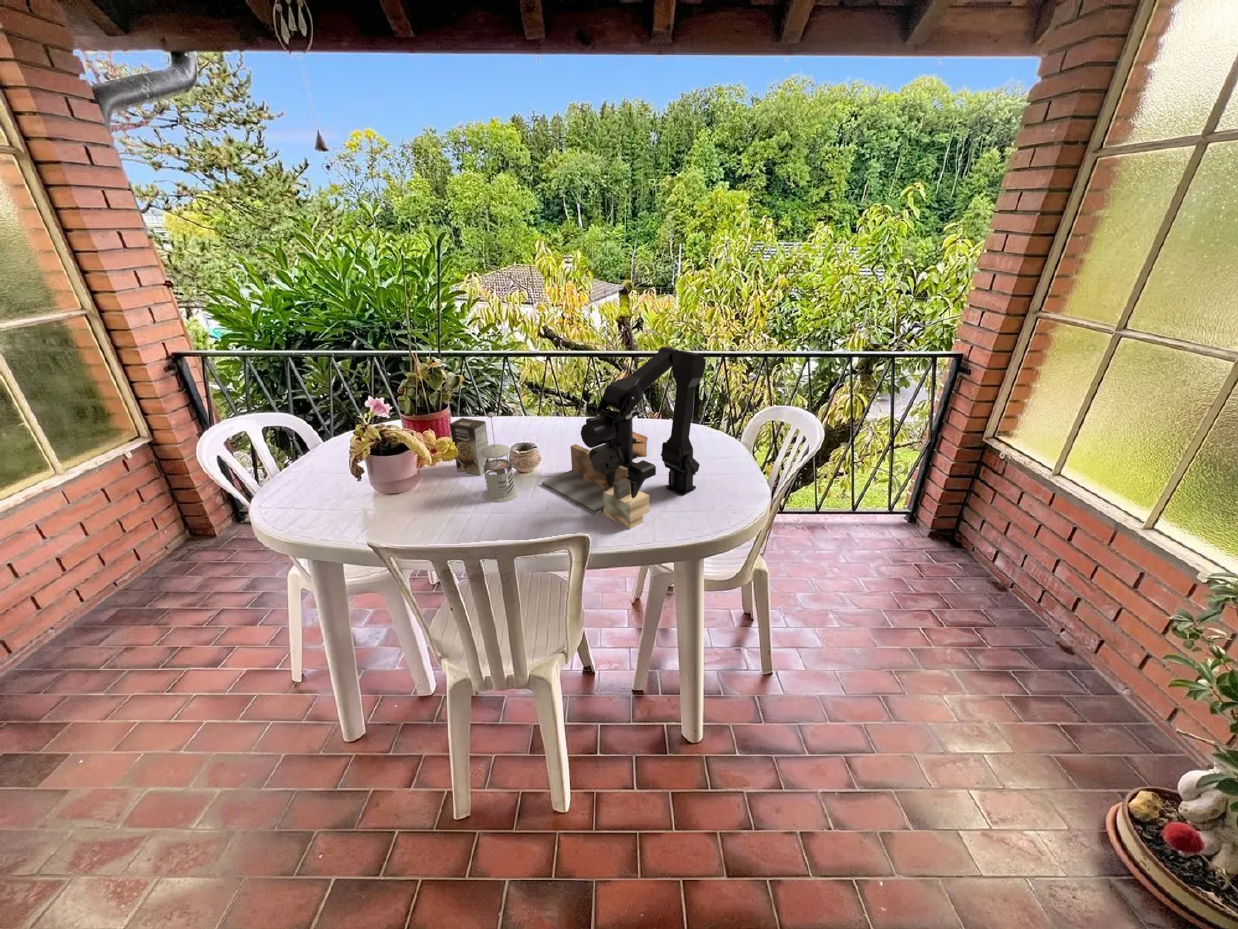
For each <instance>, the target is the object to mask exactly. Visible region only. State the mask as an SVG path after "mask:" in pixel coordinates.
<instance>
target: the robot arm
mask: <svg viewBox="0 0 1238 929" xmlns="http://www.w3.org/2000/svg"><path fill="white" fill-rule="evenodd" d="M706 366H707V364H706V358H705V357H704V355H702V354H701V353H696V352H692V351H686V350H681V349H680V350H679V349H678V348H675V347H669V346H662V347H660V348H659V349H658V351H657V352H656V353H655V354H654V355H653V356H652V357H650V358H649V359H648V360H647V361H646V362H645V363H644V364H642V365H640V367H639V368H638V369H636V370H635V371H634V372H633V373H631V375H629V376H627V377H622V378H618V379H616V380H615V381H613V382H611V383H610V384H608V385H607V386H606V387H605V388H604V393H603V395H602V396H601V399H600V401H599V403H598V406H597V407H596V410H595V414H596V415H597V416H593V417H588V418H586V419H585V423H584V424H583V425H582V427H581V429H580V437H581V440H582V442H583V444H584V445H585V446H586V447H587V448H589V449H590V453H589V460H591V463H592V465H593V468H594V470H595V471H598V472H600V473H602V474H604V476H605V478H606V481H607V483H608V486H609V487H612V486H613V483H614V478H615V471H616V469H617V468H618V467H619V466H623V467H626V468H628V475H629V477H626V478H627V479H628V480H629V481H630V486H631V497H632V498H635V497H636V495H637V493H638V491H641V488H642V486H643V484H644V482H645V481H646V480H647V479H650V478H652V477H654V476H656V475H657V466H656V465H655V464H654V463H651V462H648V461H646V460H644V459H642V460H640V461H638V462H636V461H634V460H635V459H636V458H637V457H636V454H635V453H633V444H634V443H636V439H635V438H633V432H634V431H633V426H634V425H633V418H634V417H637V416H639V415H640V412H639V411H638V410H636V409H635V408H636V406H637V405H638V404H639V403H640V401H641V400H642V397H643V393H644V392H645V390H647V389H648V388H649V387H650V386H651V385H653V383H655V382H656V381H657V380H658V379H659V378H661V377H662V376H663V375H665V373H666V372H667V371H669V370H670V369H672V370H671V372H672V373H671V374H672V376H673V378H674V381H675V384H676V387H675V388H676V391H675V395H674V396H675V398H674V405H673V415H672V424H671V433H670V436H669V438H668V440H667V441H665V442H663V443H662V444H661V453H660V457H661V460H662V462H663V464H664V467H665V468H666V469H669V471H668V485H666V486H665V489H667V490H668V491H671V492H672V493H675V494H678V495H680V496H685V495H687V494H688V493H690V492H692V491H695V489H697V486H696V485H694V476H695V475H696V473H698V472H699V468H700V463H699V462H698V460H696V459H695V458H694V447H693V445H692V442H691V440H690V434H691V433H690V432H691V423H692V417H693V416H692V415H693V407H694V401H695V394H696V387H697V386H698V384H700V382H701V380H702V379H703V377H704V373H705V369H706ZM610 408H611V409H610ZM612 409H615V410H617V411H615V410H612Z"/></svg>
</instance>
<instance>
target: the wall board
mask: <svg viewBox="0 0 1238 929" xmlns="http://www.w3.org/2000/svg"><path fill="white" fill-rule="evenodd" d="M590 451H591V449H588V448H585V447H584V446H580V445H578V444H573V445H570V456H571V469H570V470H568V471H565V472H563V473H560V474H558V475H555V476H552V477H550V478H548V479H545V480H543V481H541V485H542V486H543V487H545V488H547V489H549V490H550V491H553V492H555V493H556V494H558V495H560V496H561V497H563V498H564V499H565V498H566V499H567V500H569V501H570V502H572V503H574V504H575V505H578V506H580V507H582V508H583V509H585V510H587V511H589V512H591V513H592V512H593V513H592V514H594V515H596V514H598V513H600V512H602V511H604V498H603V492H604V491H606V490H608V489H611V488H613V486H612V487H609V486H608V483H607V481H606V478H605V476H604V474H602V473H600V472H598V471H595V470H594V468H593V465H592V463H591V460H589V453H590ZM626 477H629V475H628V468H626V467H623V466H619V467H618V468H617V469H616V471H615V478H614V483H615V482H617V481H619V480H621V479H624V478H626ZM626 479H627V478H626ZM630 487H631V486H630Z"/></svg>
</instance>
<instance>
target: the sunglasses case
mask: <svg viewBox="0 0 1238 929" xmlns="http://www.w3.org/2000/svg"><path fill="white" fill-rule="evenodd" d="M633 438H635V439H636V443H634V444H633V453H635V454H636V458H647V457H646V456H648V455H647V442H648V436H646V435H642V434H640V433H637V432H634V431H633Z"/></svg>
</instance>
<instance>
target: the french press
mask: <svg viewBox="0 0 1238 929" xmlns="http://www.w3.org/2000/svg"><path fill="white" fill-rule="evenodd" d="M494 417H495V413H494V412H492V411H489V412H488V413H487V418H490V421H491V422H490V423H491V428H492V438H493V444H489V445H488V447H486V448H484V449H483V450H482V451H481V454H482V455H483V456H484V457H486V458H490V461H488V462H487V463H486V464H485V469H484V473H483V475H484V480H485V486H486V492H485V494H484V496H483V498H484V499H485V500H486V501H487V502H490V503H497V504H498V503H499V504H500V503H506V502H509V501H512V500H513V499H515V498H517V497H518V495H519V490H518V489H517V488H515V480H514V474H513V467H514V458H513V454H512V451H511V448H510V447H509V446H507V445H505V444H501V443H496V441H495V433H494V426H493V418H494ZM509 454H510V455H511V461H510V460H509ZM502 457H506V458H502ZM487 470H488V471H487ZM491 473H492V474H491ZM494 473H495V474H494Z"/></svg>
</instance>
